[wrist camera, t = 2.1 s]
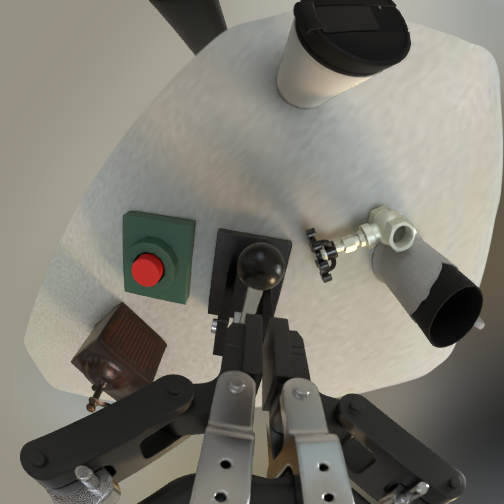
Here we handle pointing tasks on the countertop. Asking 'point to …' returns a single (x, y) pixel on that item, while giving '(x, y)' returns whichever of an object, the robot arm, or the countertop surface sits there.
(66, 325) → the countertop surface
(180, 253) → the button block
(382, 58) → the travel mug
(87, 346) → the brown coffee grinder
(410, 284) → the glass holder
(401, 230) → the valve
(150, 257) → the button
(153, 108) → the countertop surface
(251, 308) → the lever
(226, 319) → the bracket
